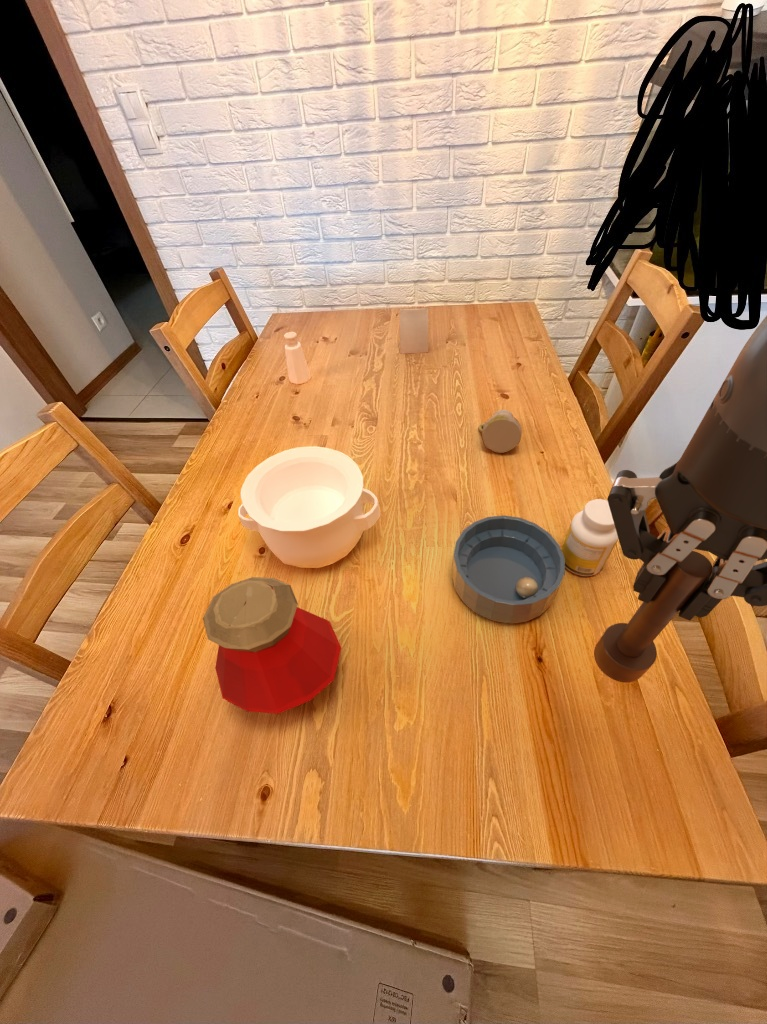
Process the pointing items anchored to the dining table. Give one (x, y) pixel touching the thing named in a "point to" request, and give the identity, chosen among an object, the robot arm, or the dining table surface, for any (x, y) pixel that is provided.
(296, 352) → the salt shaker
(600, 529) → the pill bottle
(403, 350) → the grey rectangular block
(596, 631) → the dining table surface
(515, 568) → the bowl
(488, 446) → the mug
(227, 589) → the red jar
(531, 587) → the bead
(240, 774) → the dining table surface
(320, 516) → the pot
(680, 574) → the masher
